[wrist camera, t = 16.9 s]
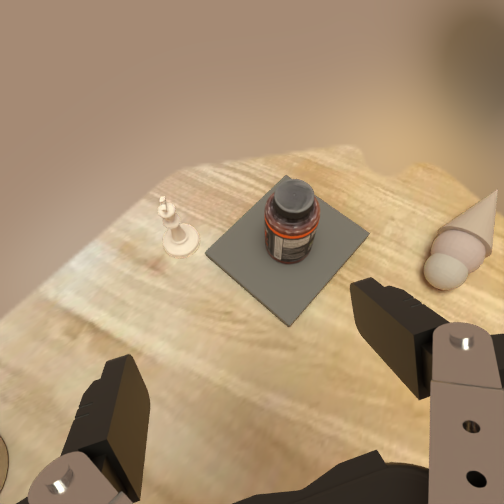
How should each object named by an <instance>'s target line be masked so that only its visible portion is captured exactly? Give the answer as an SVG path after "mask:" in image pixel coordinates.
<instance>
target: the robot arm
mask: <svg viewBox="0 0 504 504" xmlns="http://www.w3.org/2000/svg"><path fill="white" fill-rule="evenodd" d="M350 293H351V300H352V306H353V313H354V319H355V323H356V326H357V329H358V331H359V333H360V334H361V336H362V337H363V338H364V339H365V340H366V342H367V343H368V344H369V345H370V346H371V347H372V348H373V349H374V350H375V352H376V353H377V354H378V355H379V356H380V357H381V358H382V359H383V360H384V362H385V363H386V364H387V365H388V366H389V367H390V368H391V369H392V371H393V372H394V373H395V374H396V375H397V376H398V377H399V378H400V379H401V381H402V382H403V383H404V384H405V385H406V386H407V387H408V388H409V389H410V391H411V392H412V393H413V394H414V395H415V396H416V397H417V398H418V400H421V399H424V398H427V397H429V396H430V446H429V469H428V468H425V467H422V466H418V465H414V464H407V463H394V462H390V463H385V462H384V460H383V459H382V457H381V456H380V454H379V452H378V451H377V450H374V451H372V452H369V453H366V454H364V455H361V456H358V457H356V458H353V459H350V460H348V461H345V462H342V463H340V464H338V465H336V466H335V467H333V468H332V469H331V470H329V471H328V472H326V473H325V474H324V475H322V476H321V477H320V478H318V479H317V480H315V481H314V482H313V483H311V484H310V485H308V486H307V487H306V488H304V489H302V490H298V491H289V492H279V493H269V494H259V495H254V496H252V497H249V498H246V499H244V500H241V501H238V502H236V503H233V504H504V334H496V335H490V334H489V333H488V332H487V331H485V330H484V329H482V328H480V327H478V326H476V325H473V324H469V323H461V322H453V323H450V322H448V321H447V320H446V319H444V318H443V317H441V316H440V315H438V314H437V313H436V312H434V311H433V310H431V309H430V308H428V307H427V306H426V305H424V304H422V303H421V302H420V301H418V300H417V299H416V298H413V296H411V295H410V294H408V293H407V292H406V291H404V290H402V289H399V288H396V287H392V286H386V287H384V286H382V285H381V284H380V283H378V282H377V281H376V280H374V279H373V278H371V277H370V278H366V279H363V280H360V281H357V282H354V283H351V284H350ZM149 414H150V398H149V394H148V390H147V388H146V385H145V383H144V381H143V379H142V377H141V374H140V372H139V370H138V368H137V365H136V363H135V361H134V359H133V357H132V356H131V355H130V354H128V355H124V356H121V357H118V358H115V359H112V360H109V361H107V362H106V364H105V367H104V370H103V373H102V376H101V379H98V380H95V381H93V383H92V384H91V385H90V386H89V388H88V389H87V390H86V391H85V393H84V394H83V397H82V399H81V402H80V405H79V409H78V410H77V413H76V416H75V420H74V421H73V424H72V426H71V429H70V432H69V434H68V437H67V440H66V442H65V445H64V448H63V451H62V453H61V456H60V457H59V458H57V459H55V460H54V461H53V462H51V463H50V464H49V465H47V466H46V467H45V468H44V469H43V470H42V471H41V472H40V473H39V475H38V476H37V477H36V478H35V480H34V481H33V483H32V485H31V487H30V489H29V493H28V497H26V498H25V499H23V500H21V501H20V502H18V503H16V504H133V503H135V502H137V501H140V496H141V487H142V478H143V469H144V460H145V451H146V441H147V432H148V423H149ZM7 468H8V455H7V450H6V446H5V444H4V442H3V440H2V438H1V437H0V491H1V489H2V487H3V484H4V481H5V478H6V474H7Z"/></svg>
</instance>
